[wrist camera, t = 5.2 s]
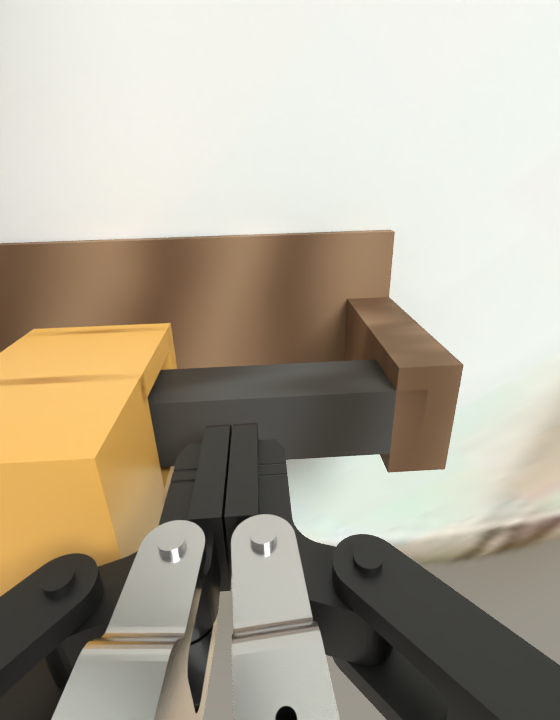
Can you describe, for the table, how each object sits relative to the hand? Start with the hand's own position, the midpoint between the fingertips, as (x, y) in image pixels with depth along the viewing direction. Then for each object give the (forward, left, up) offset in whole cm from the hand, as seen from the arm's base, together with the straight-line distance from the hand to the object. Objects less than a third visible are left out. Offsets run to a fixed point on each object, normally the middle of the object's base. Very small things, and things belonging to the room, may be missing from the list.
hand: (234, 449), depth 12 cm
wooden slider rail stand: (-3, -3, -9) cm, 10 cm away
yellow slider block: (-3, -4, -5) cm, 7 cm away
